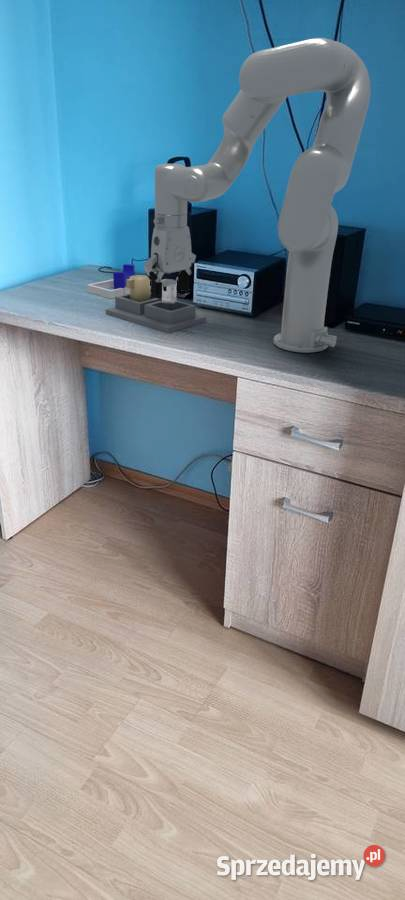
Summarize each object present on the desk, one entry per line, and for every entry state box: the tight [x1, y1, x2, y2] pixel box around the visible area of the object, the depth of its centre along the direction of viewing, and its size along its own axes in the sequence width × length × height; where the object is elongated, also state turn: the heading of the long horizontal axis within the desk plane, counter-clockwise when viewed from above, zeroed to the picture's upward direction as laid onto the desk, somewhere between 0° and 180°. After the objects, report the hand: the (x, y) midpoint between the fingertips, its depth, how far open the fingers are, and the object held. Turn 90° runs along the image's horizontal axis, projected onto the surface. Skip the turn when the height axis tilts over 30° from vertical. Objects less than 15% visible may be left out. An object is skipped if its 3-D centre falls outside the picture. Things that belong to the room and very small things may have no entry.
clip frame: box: [86, 278, 151, 299], centre depth 192 cm, size 10×18×2 cm, turn 140°
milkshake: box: [160, 276, 178, 311], centre depth 163 cm, size 4×5×10 cm
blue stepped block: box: [112, 263, 136, 290], centre depth 191 cm, size 12×4×6 cm, turn 171°
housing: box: [105, 274, 207, 334], centre depth 167 cm, size 22×14×9 cm, turn 50°
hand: (170, 294), depth 163 cm, fingers open, 9 cm apart
